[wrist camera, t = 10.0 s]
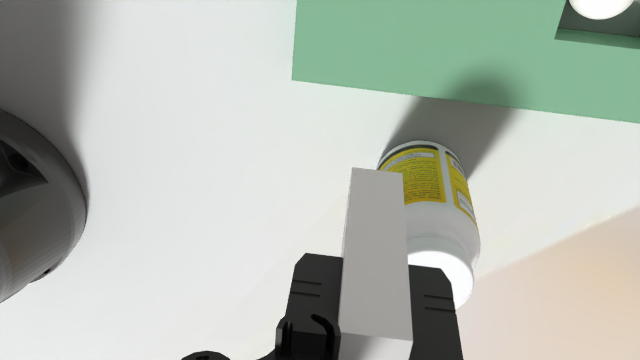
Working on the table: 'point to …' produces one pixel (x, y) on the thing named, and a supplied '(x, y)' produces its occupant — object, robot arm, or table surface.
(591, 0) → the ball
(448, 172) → the pill bottle
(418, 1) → the green
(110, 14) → the table surface
